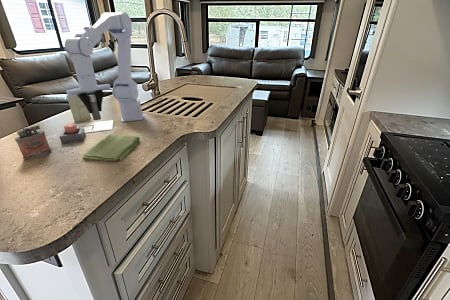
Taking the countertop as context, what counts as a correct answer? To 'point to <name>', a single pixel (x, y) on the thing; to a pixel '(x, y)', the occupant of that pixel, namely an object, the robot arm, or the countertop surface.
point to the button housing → (72, 136)
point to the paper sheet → (96, 126)
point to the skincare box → (78, 109)
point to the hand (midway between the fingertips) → (95, 111)
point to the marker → (94, 108)
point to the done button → (70, 128)
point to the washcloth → (112, 148)
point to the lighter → (32, 143)
